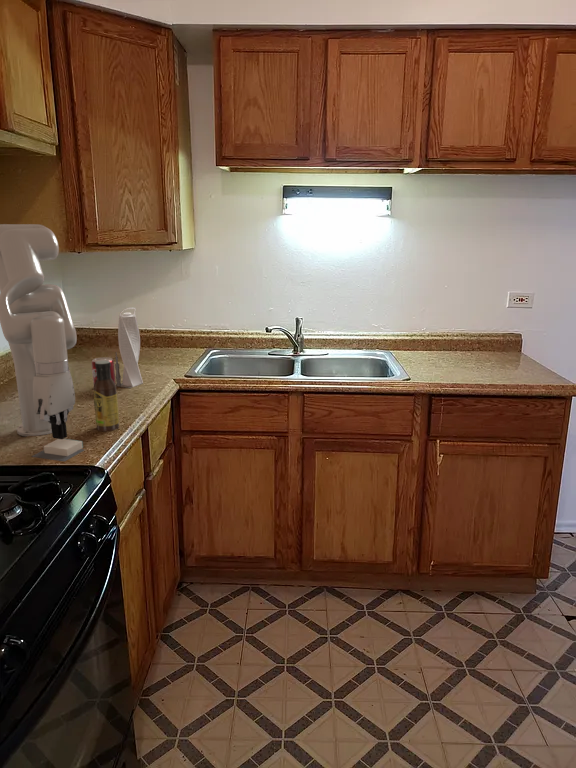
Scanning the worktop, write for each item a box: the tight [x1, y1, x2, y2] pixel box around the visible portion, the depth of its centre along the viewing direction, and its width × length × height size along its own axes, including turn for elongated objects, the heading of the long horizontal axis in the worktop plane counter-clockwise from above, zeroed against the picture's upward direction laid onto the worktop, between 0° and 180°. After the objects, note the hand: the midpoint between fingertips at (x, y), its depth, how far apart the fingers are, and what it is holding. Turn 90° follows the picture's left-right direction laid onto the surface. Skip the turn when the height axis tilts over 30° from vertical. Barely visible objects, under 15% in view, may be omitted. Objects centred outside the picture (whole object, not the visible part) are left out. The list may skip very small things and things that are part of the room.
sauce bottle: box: [92, 360, 120, 432], centre depth 161 cm, size 6×6×20 cm
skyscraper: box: [114, 307, 144, 389], centre depth 207 cm, size 8×8×28 cm
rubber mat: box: [31, 448, 85, 462], centre depth 146 cm, size 8×10×1 cm
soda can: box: [91, 357, 117, 385], centre depth 198 cm, size 7×7×12 cm
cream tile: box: [43, 438, 84, 456], centre depth 147 cm, size 7×2×6 cm
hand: (59, 437), depth 146 cm, fingers closed
